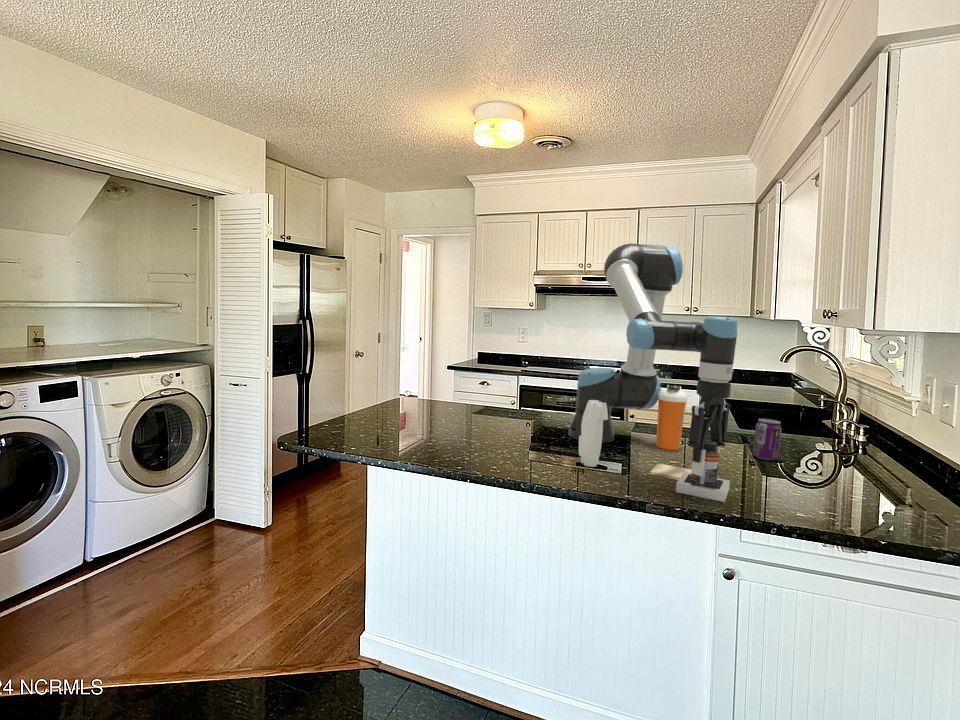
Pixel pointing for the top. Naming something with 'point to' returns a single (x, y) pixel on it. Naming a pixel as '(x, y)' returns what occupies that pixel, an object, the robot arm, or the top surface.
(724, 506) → the top surface
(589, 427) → the white bottle
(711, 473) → the supplement bottle
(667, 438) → the shaker bottle
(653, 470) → the maple coaster
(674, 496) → the top surface
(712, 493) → the grey tray
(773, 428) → the beverage can
